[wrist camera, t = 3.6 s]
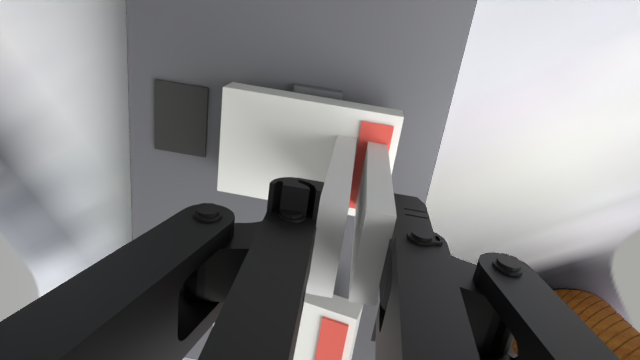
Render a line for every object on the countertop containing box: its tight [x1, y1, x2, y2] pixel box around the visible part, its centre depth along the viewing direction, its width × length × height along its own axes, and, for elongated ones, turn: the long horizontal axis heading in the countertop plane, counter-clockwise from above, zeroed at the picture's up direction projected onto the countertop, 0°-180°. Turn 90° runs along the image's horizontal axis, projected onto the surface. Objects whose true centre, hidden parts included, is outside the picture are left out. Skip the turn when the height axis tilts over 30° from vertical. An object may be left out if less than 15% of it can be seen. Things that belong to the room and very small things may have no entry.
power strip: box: [126, 0, 477, 360], centre depth 21 cm, size 28×14×4 cm, turn 172°
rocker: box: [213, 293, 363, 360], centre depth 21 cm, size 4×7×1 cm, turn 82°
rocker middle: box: [217, 82, 404, 216], centre depth 18 cm, size 4×7×1 cm, turn 82°
